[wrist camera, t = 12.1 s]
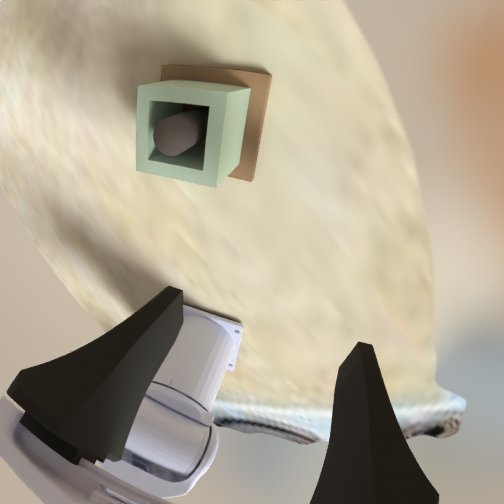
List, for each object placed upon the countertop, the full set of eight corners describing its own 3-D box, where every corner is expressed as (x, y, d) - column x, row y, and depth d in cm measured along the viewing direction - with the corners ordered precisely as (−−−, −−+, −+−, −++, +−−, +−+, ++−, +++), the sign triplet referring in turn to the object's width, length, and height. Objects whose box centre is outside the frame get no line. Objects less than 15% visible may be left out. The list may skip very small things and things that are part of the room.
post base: (253, 178, 19) (228, 214, 15) (161, 158, 19) (118, 186, 15) (271, 75, 14) (248, 75, 10) (167, 64, 15) (117, 69, 11)
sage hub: (239, 164, 18) (216, 188, 14) (169, 150, 18) (136, 170, 15) (250, 87, 15) (227, 92, 11) (174, 79, 15) (137, 85, 12)
